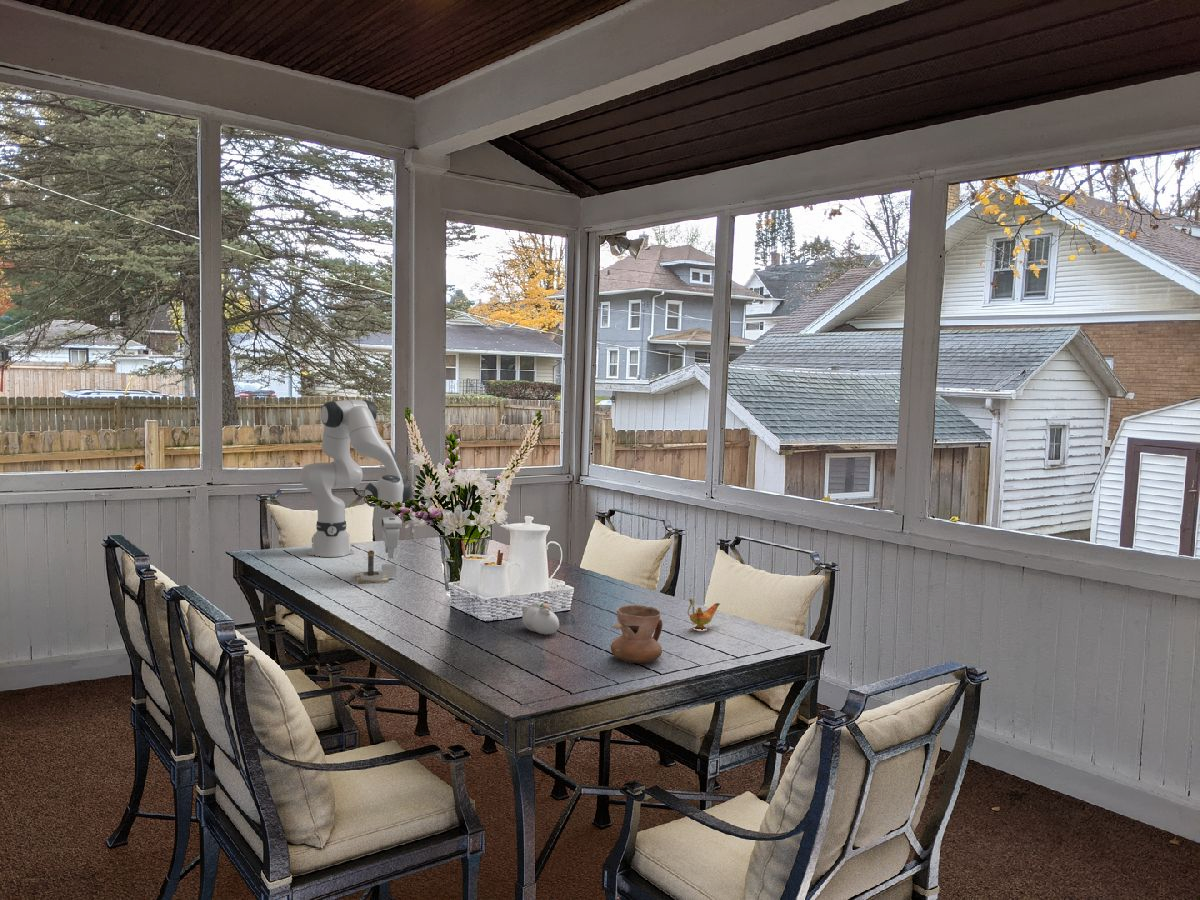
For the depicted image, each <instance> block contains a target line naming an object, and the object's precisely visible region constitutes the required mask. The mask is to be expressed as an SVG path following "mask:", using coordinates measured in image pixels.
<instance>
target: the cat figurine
mask: <svg viewBox="0 0 1200 900" xmlns="http://www.w3.org/2000/svg"><path fill="white" fill-rule="evenodd" d="M520 609H521V611H522V615H521V616H522V618H521V619H522V623H523V624H524V626H525V627H526V628H527V630H529V631H532V632H536V633H537V634H541V635H543V634H544V635H546V636H547V635H548V634H549V635H552V634H554V633H556V632H557V631H558V629H559V628H560V620H559V618H558V616H557V615H556V614H555V613H554V611H552V610H551V609H552V608H551V607H550V606H549V605H548V604H543V603H541V602H540V601H536V602H532V604H530V605H529V606H525V605H522V606H521V607H520Z"/></svg>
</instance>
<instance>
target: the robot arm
mask: <svg viewBox="0 0 1200 900" xmlns="http://www.w3.org/2000/svg"><path fill="white" fill-rule="evenodd" d="M377 415H378V413H377V407H376V405H375V403H374V402H373V401H371V400H367V399H361V400H360V399H344V400H343V399H342V400H337V401H336V400H335V401H334V400H331V401H327V402H325V403H323V404H322V407H321V409H320V420H321V423H323V425H324V426H323V434H322V440H321V450H322V452H323V454H325V455H326V456H327V457H329V458H332V459H333V462H332V461H331V462H314V463H309V464H306V465H304V466H303V467H302V469H301V471H300V474H299V479H300V482H301V484H302V486H304V488H306V489H307V490H309V492H311V494H312V495H313V497H314V499H315V502H316V506H317V507H316V509H317V521H316V524H315V527H316V532H315V533H314V534H313V535H312V537H311V543H312V544H311V548H310V549H309V550H308V552H307V556H314V555H315V556H316V557H319V556H320V558H337V557H345V556H348V555H354V554H355V550H353V549H352V548H351V546H350V543H351V541H350V540H351V539H350V538H351V537H350V534H349V532H348V531H347V530H346V529H347V521H346V503H345V502H344V500H343V499H341V498H340V497H338V496H336V495H333V492H332V489H349V488H353V487H357V486H360V484H361V482H362V481H363V477H364V474H363V473H364V472H363V469H362V467H361V466H360V464H358V463H357V462H356V461H354V459H353V457H352V455H351V446H352V449H353V450H354V451H355V452H356V453H358V454H359V455H361V456H363V457H368V458H371V459H373V460H377V462H380V463H381V464H382V465H383V467H384V469H385V470H386V473H387V474H386V475H382V476H380V478H379V479H378V480H376V481H374V482H369V483H367V485H366V486H365V488H364V490H363V500H364V502H365V503H366V504H367V506H369V507H372V508H378V512H377V524H378V525H381V529H382V531H381V537H382V539H383V542H384V547H385V548H384V550H385V554H387V558H388V559H394V554H395V549H398V546H399V538H400V528H402V525H403V519H402V520H401V519H400V518H399V517H398V516H396V515H395V514H393V513H392V512H391V511H389V510H385V509H383V508H381V507H379V506H377V505H375V504H372V503H369V502H367V500H366V498H365V496H367V495H372V496H374V497H376V498H379V499H381V500H384V501H388V502H400V503H404V502H405V501H407V500H409V499H410V500H411V499H412V497H413V490H412V487H411V485H410V483H409V482H408V481H407V479H406V477H405V475H404V473H403V470H402V468H401V466H400V463H399V461H398V459H397V457H396V455H395V452H394V450H393V448H392V447H391V445H390V444H388V442H386V441H385V440H384V439H383V438H382V436H381V435H380V433H379V430H378V429H379V428H378V427H377V423H376V420H377ZM315 556H314V557H315Z"/></svg>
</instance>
